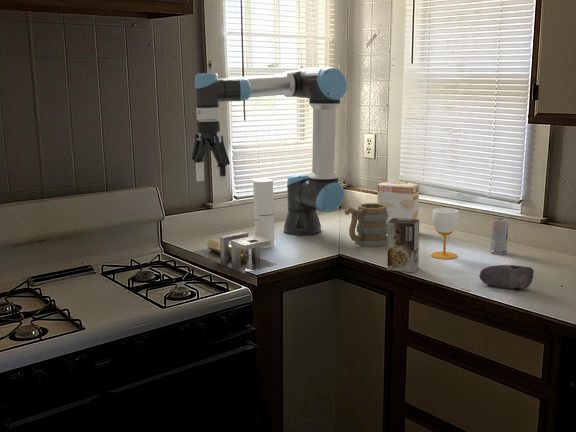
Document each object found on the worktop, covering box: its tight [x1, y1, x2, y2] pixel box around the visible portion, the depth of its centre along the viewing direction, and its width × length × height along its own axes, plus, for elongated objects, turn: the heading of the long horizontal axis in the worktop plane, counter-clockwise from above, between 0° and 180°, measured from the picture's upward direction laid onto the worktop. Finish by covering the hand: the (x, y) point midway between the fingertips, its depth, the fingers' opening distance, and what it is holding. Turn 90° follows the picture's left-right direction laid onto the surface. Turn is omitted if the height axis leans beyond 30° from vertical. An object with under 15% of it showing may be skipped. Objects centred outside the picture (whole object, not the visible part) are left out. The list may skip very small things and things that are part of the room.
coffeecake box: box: [376, 181, 420, 234], centre depth 253 cm, size 15×7×20 cm, turn 58°
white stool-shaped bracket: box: [230, 235, 270, 267], centre depth 212 cm, size 10×8×8 cm
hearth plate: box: [193, 248, 278, 274], centre depth 222 cm, size 14×33×1 cm, turn 37°
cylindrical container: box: [252, 178, 275, 249], centre depth 235 cm, size 7×7×25 cm
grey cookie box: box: [386, 218, 420, 273], centre depth 206 cm, size 9×6×16 cm
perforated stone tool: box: [479, 264, 535, 290], centre depth 187 cm, size 15×5×7 cm, turn 61°
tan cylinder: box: [206, 238, 247, 262], centre depth 224 cm, size 20×4×4 cm, turn 38°
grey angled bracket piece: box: [219, 231, 250, 262], centre depth 220 cm, size 10×2×8 cm, turn 128°
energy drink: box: [490, 217, 509, 256], centre depth 222 cm, size 5×5×12 cm
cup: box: [430, 207, 460, 260], centre depth 220 cm, size 9×9×16 cm
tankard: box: [344, 202, 388, 247], centre depth 238 cm, size 20×13×15 cm, turn 124°
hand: (211, 183), depth 217 cm, fingers open, 13 cm apart
